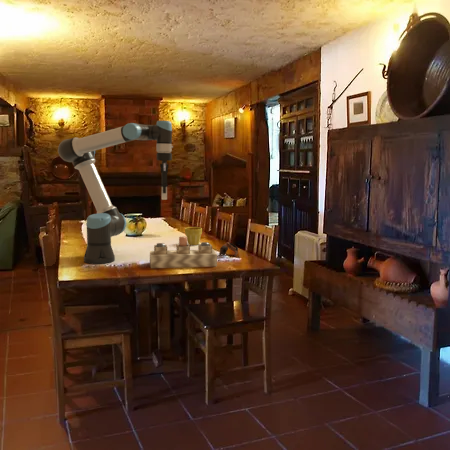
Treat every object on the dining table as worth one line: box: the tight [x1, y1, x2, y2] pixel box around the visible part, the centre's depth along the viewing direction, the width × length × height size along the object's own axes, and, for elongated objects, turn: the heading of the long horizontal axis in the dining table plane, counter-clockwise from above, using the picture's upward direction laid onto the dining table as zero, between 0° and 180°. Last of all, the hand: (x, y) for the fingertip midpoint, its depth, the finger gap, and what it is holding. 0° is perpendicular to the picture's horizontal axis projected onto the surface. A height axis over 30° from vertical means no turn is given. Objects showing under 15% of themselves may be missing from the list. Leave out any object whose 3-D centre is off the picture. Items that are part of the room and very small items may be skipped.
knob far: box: [200, 241, 210, 246], centre depth 247 cm, size 4×4×4 cm
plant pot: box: [184, 226, 203, 246], centre depth 299 cm, size 10×10×10 cm
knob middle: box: [178, 236, 188, 247], centre depth 245 cm, size 4×4×4 cm
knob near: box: [156, 242, 166, 247], centre depth 243 cm, size 4×4×4 cm
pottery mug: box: [219, 241, 239, 257], centre depth 268 cm, size 12×10×8 cm
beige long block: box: [149, 243, 218, 269], centre depth 246 cm, size 32×12×10 cm, turn 101°
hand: (164, 199), depth 252 cm, fingers closed
